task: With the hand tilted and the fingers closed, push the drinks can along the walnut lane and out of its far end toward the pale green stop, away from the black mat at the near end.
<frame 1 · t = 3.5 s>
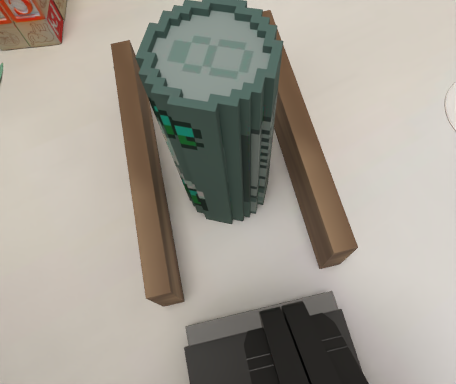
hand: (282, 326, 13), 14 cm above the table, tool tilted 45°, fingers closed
lane: (222, 164, 31), on the table
can: (227, 186, 30), on the table
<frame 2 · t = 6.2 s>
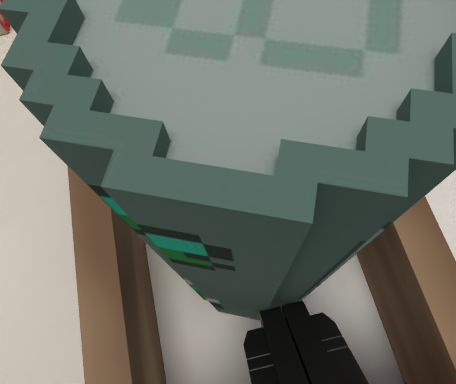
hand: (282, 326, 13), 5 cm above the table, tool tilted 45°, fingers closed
lane: (241, 221, 19), on the table
can: (251, 253, 19), on the table, touching gripper
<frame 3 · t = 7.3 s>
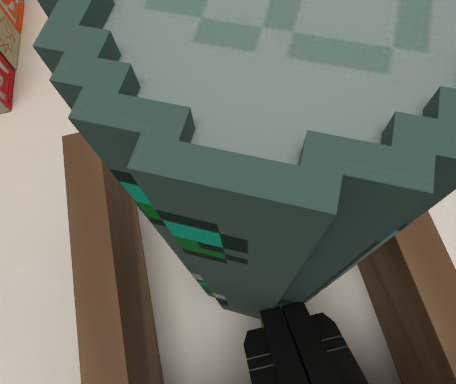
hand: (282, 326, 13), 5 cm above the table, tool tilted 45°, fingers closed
lane: (272, 348, 17), on the table
can: (258, 252, 19), on the table, touching gripper
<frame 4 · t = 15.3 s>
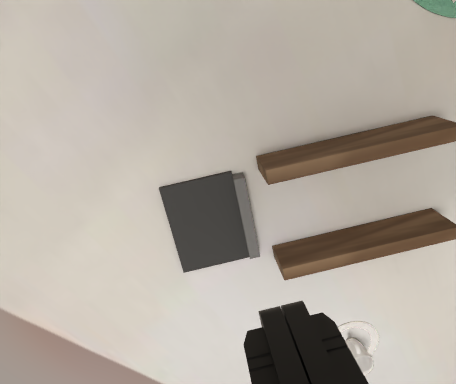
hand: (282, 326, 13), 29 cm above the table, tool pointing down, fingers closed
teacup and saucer: (334, 355, 54), on the table
lane: (349, 189, 44), on the table
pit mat: (206, 223, 43), on the table
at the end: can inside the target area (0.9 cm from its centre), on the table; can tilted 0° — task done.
